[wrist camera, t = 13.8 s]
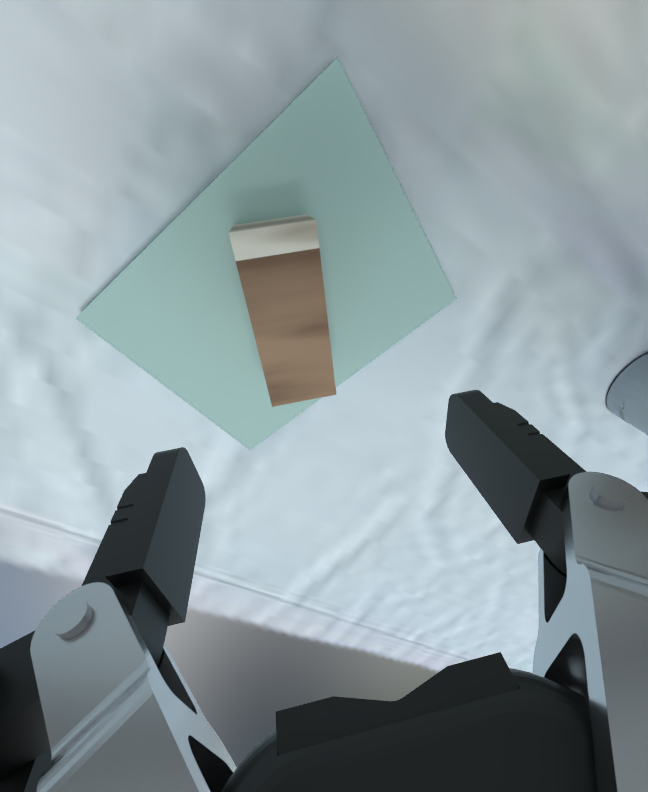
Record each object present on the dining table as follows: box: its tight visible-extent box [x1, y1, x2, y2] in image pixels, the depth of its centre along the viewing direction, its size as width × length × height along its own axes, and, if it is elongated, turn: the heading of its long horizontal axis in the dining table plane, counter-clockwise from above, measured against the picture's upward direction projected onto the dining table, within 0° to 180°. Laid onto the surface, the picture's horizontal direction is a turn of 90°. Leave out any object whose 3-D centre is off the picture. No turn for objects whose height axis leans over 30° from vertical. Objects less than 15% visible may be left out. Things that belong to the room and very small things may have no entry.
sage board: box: [76, 57, 456, 450], centre depth 26 cm, size 24×18×1 cm
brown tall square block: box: [229, 214, 336, 407], centre depth 24 cm, size 5×5×12 cm
